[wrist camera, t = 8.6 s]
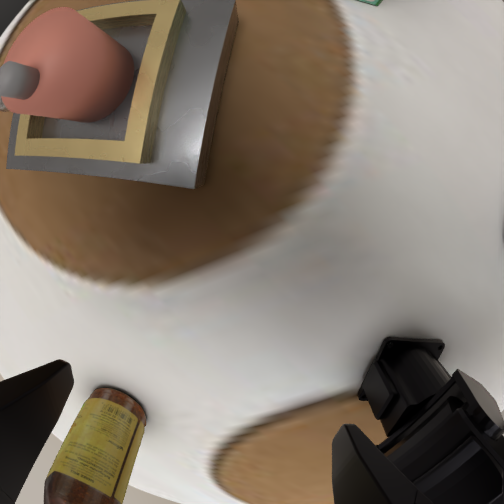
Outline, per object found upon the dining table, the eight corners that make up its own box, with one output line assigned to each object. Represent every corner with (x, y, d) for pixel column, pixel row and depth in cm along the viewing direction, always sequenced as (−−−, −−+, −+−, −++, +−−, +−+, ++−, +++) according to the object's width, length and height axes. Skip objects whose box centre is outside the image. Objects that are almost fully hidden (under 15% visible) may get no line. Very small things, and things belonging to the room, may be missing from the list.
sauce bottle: (80, 384, 23) (-9, 539, 4) (130, 382, 22) (45, 578, 3) (113, 428, 24) (54, 574, 5) (161, 429, 24) (114, 602, 5)
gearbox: (238, 22, 14) (233, -14, 10) (204, 184, 17) (187, 192, 13) (36, 38, 13) (3, 25, 9) (9, 164, 16) (-29, 169, 12)
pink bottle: (144, 40, 12) (80, -19, 5) (123, 124, 13) (36, 105, 6) (74, 47, 12) (-1, 11, 5) (54, 122, 13) (-33, 116, 6)
